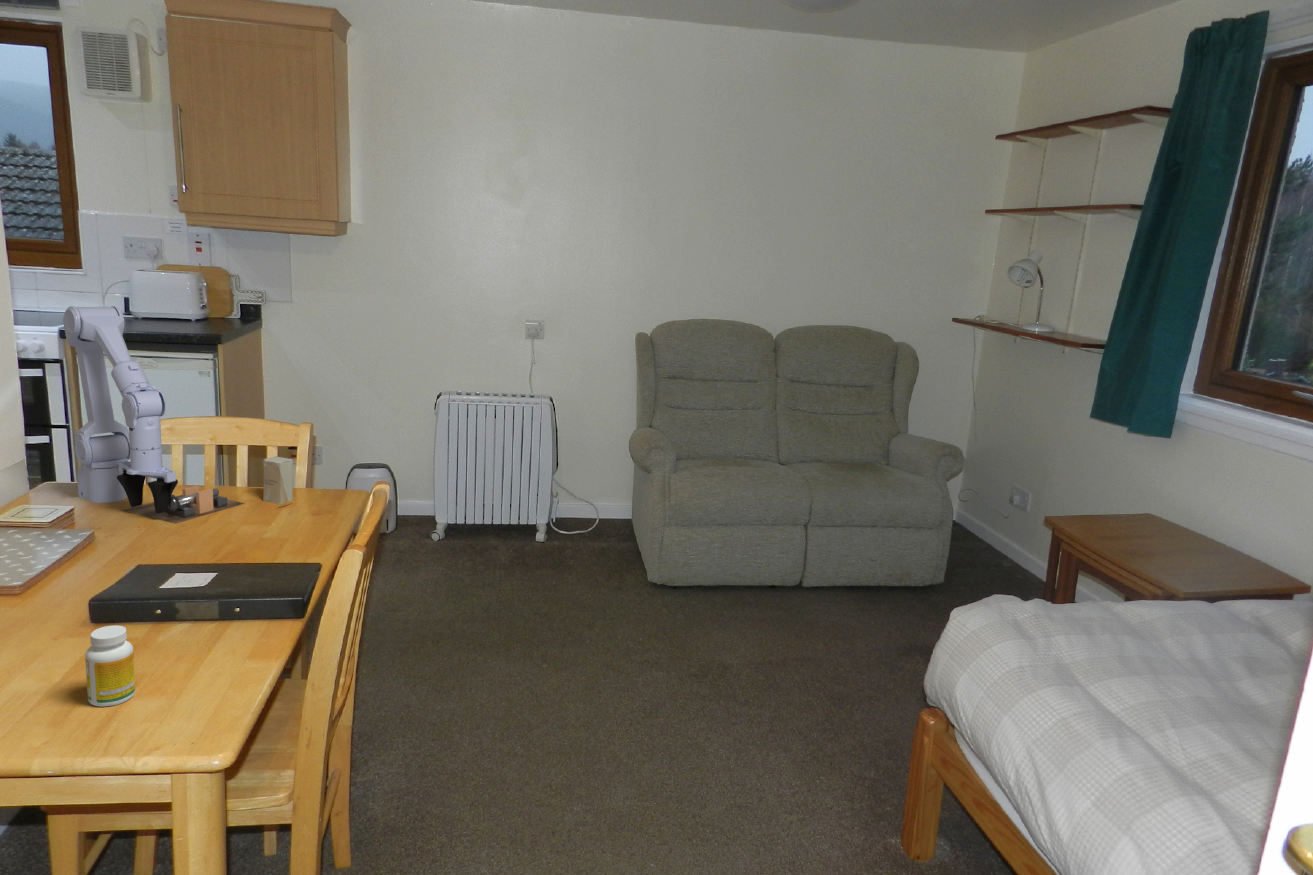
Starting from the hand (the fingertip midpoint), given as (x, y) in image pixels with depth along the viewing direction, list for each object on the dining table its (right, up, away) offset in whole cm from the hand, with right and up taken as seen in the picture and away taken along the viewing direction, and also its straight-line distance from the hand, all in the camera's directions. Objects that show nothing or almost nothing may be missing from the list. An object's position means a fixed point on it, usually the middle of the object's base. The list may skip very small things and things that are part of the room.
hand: (148, 508), depth 179 cm
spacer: (+7, -1, +8) cm, 10 cm away
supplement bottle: (+35, -20, -66) cm, 78 cm away
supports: (+6, -1, +8) cm, 10 cm away
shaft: (+6, 0, +6) cm, 9 cm away
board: (+3, -1, +9) cm, 10 cm away
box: (+19, -1, +19) cm, 27 cm away
